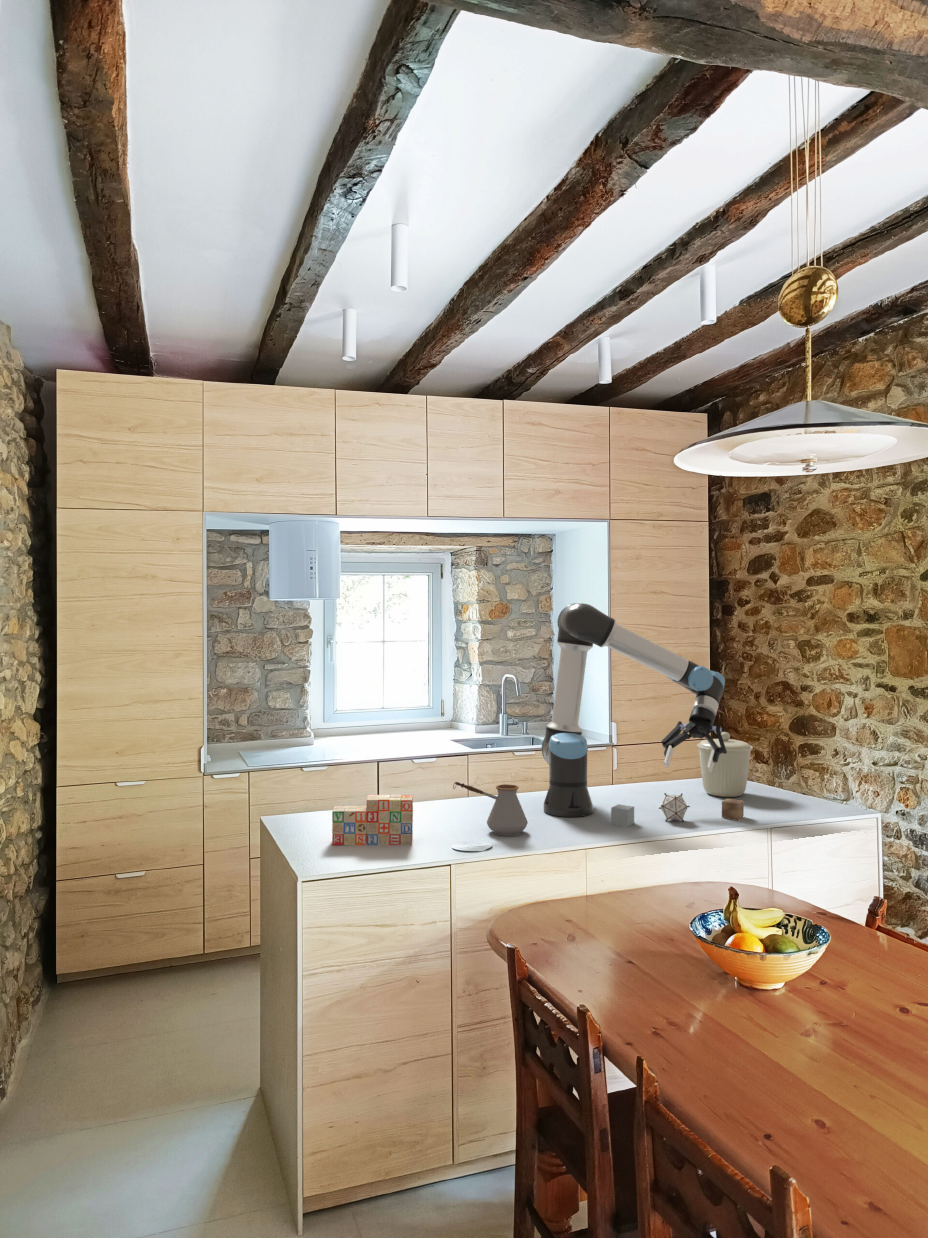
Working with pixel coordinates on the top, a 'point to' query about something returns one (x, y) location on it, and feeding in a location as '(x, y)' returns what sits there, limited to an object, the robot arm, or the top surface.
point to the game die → (674, 807)
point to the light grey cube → (622, 815)
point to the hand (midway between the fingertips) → (687, 767)
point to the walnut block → (733, 809)
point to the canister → (725, 767)
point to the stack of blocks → (375, 821)
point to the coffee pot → (504, 810)
